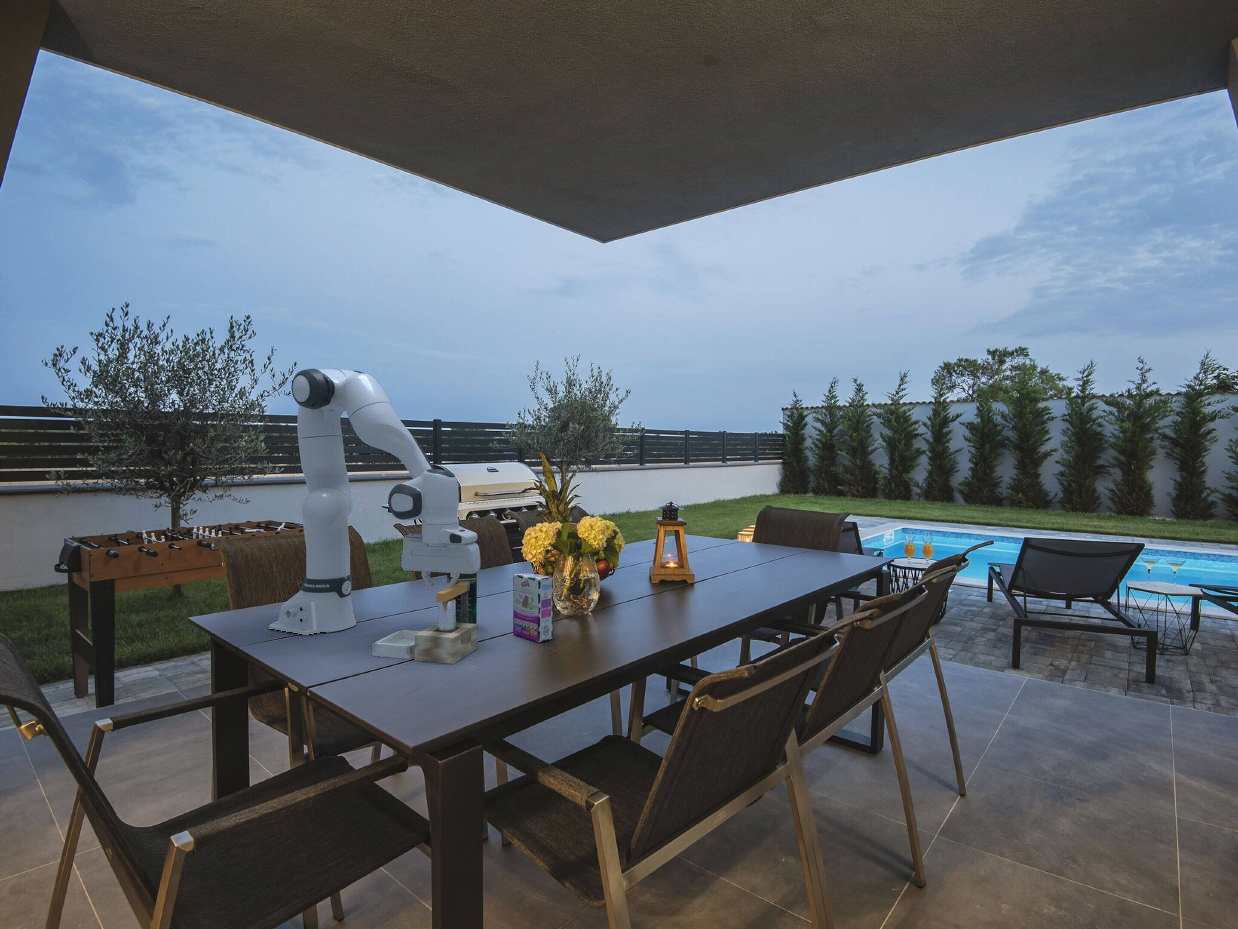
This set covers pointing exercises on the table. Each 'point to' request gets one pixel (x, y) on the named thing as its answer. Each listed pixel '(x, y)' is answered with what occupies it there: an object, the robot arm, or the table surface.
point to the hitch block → (447, 640)
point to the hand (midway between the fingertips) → (440, 589)
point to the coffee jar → (471, 597)
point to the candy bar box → (533, 606)
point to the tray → (396, 645)
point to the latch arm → (452, 591)
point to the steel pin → (447, 616)
